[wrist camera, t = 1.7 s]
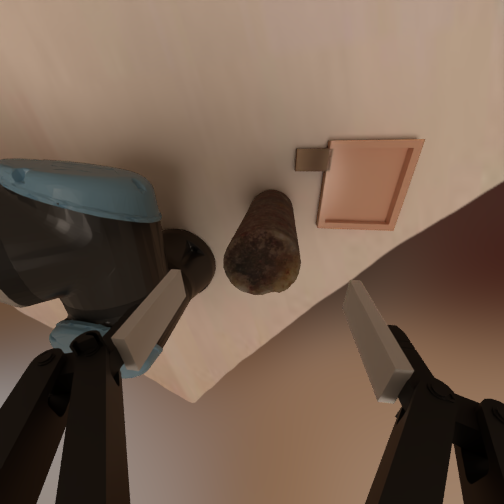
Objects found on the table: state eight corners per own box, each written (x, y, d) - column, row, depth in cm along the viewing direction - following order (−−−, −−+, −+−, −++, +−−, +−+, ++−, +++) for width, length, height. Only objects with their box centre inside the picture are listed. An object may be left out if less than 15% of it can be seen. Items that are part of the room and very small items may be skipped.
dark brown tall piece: (252, 185, 34) (221, 227, 16) (295, 188, 33) (312, 236, 16) (250, 227, 38) (223, 298, 20) (289, 231, 37) (296, 308, 19)
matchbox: (294, 169, 32) (295, 171, 30) (296, 148, 30) (297, 148, 29) (327, 169, 31) (329, 171, 30) (330, 148, 30) (333, 148, 28)
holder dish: (315, 223, 36) (317, 228, 34) (328, 140, 29) (331, 140, 28) (387, 226, 34) (393, 230, 32) (416, 139, 28) (425, 139, 26)
